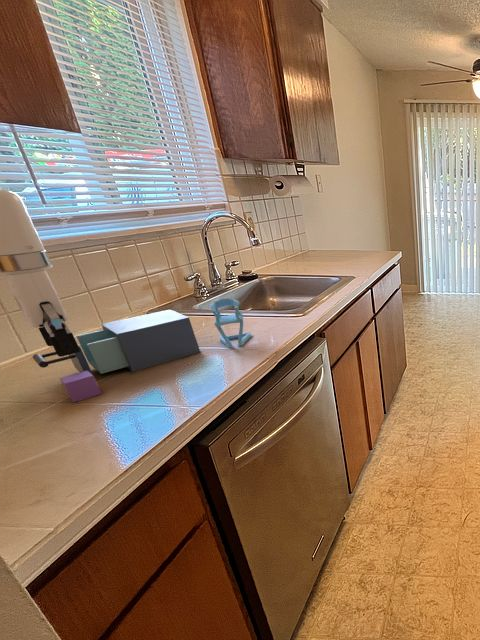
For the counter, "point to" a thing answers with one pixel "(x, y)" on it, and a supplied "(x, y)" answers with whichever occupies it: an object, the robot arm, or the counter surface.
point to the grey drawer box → (154, 338)
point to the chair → (229, 321)
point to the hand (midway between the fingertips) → (63, 348)
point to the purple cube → (80, 386)
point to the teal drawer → (93, 353)
